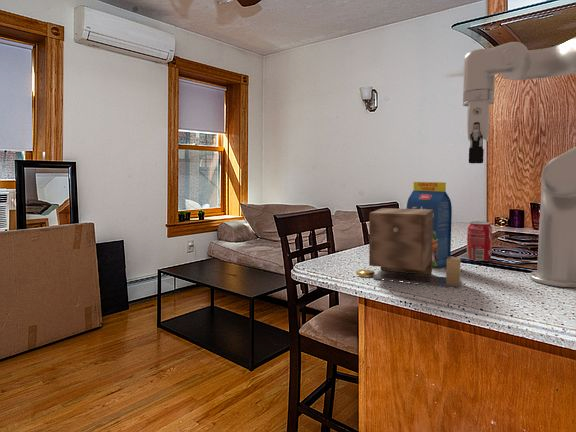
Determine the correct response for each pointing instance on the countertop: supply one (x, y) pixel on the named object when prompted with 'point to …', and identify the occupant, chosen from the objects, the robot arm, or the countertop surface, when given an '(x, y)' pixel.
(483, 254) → the soda can
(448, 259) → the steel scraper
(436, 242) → the blue food package
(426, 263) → the walnut cabinet
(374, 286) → the countertop surface
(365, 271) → the brass token
